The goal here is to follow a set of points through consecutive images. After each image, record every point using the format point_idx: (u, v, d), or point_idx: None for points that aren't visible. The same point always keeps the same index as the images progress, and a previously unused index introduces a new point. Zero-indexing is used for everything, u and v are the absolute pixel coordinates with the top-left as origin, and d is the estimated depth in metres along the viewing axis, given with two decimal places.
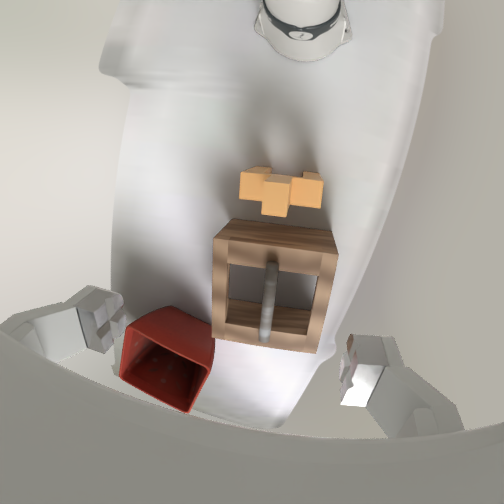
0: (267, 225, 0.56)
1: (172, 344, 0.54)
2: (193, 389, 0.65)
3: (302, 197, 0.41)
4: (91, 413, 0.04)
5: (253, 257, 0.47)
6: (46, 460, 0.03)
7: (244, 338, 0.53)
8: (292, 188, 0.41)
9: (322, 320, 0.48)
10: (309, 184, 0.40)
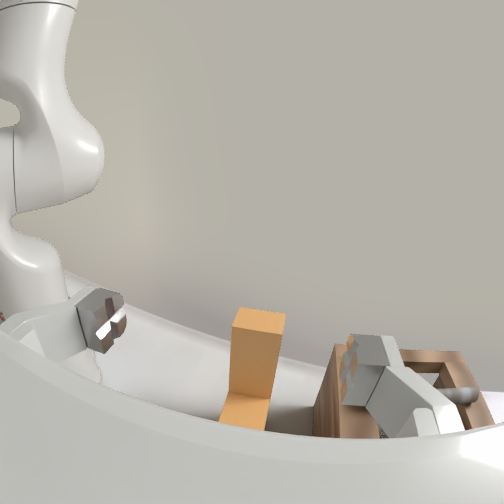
0: None
1: None
2: None
3: None
4: (91, 413, 0.04)
5: (363, 427, 0.22)
6: (47, 460, 0.03)
7: (486, 420, 0.19)
8: None
9: (418, 351, 0.33)
10: None
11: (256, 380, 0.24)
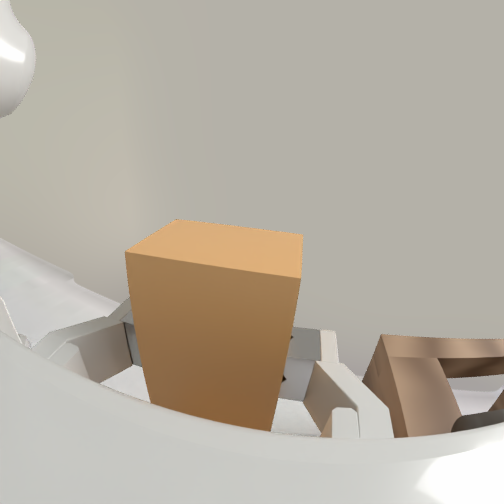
0: None
1: None
2: None
3: None
4: (91, 413, 0.04)
5: None
6: (47, 460, 0.03)
7: None
8: None
9: (500, 341, 0.17)
10: None
11: None
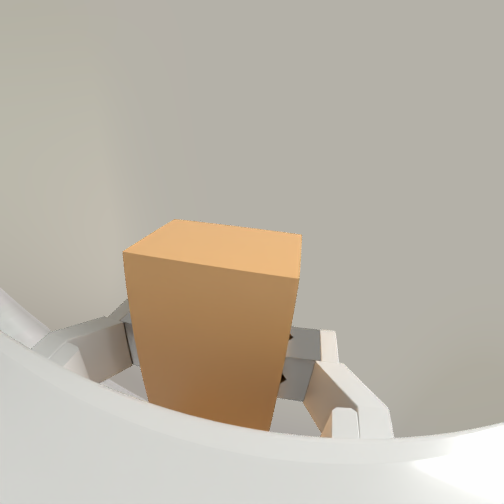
0: None
1: None
2: None
3: None
4: (91, 413, 0.04)
5: None
6: (46, 460, 0.03)
7: None
8: None
9: None
10: None
11: None
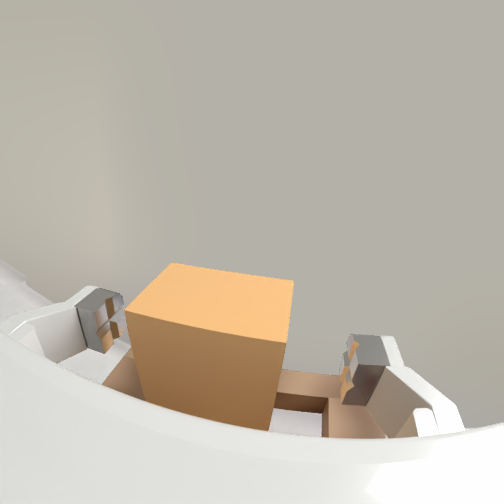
0: None
1: None
2: None
3: None
4: (91, 413, 0.04)
5: None
6: (47, 460, 0.03)
7: None
8: None
9: (281, 371, 0.21)
10: None
11: None
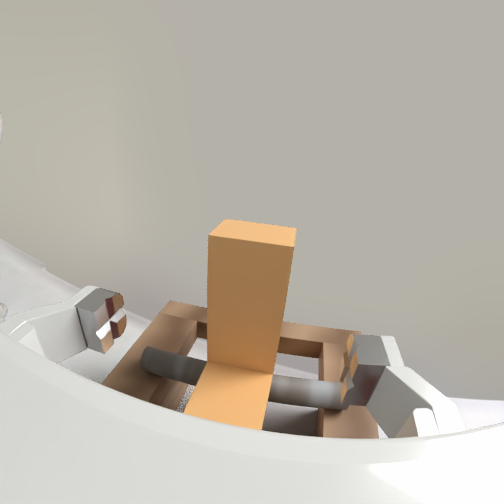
0: None
1: None
2: None
3: None
4: (91, 413, 0.04)
5: None
6: (47, 460, 0.03)
7: None
8: None
9: (286, 323, 0.28)
10: None
11: (250, 340, 0.15)
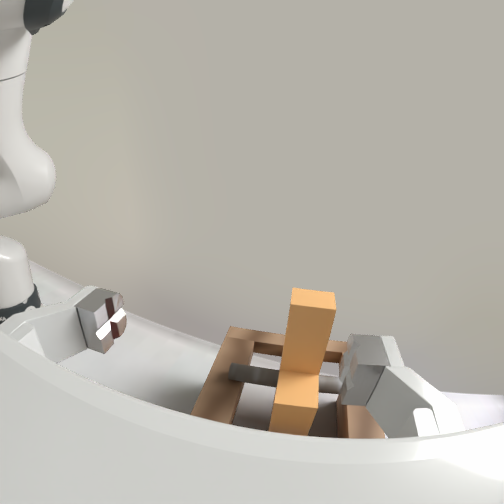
0: None
1: None
2: None
3: None
4: (91, 413, 0.04)
5: (221, 396, 0.28)
6: (46, 460, 0.03)
7: (371, 416, 0.25)
8: None
9: None
10: None
11: (308, 356, 0.26)
